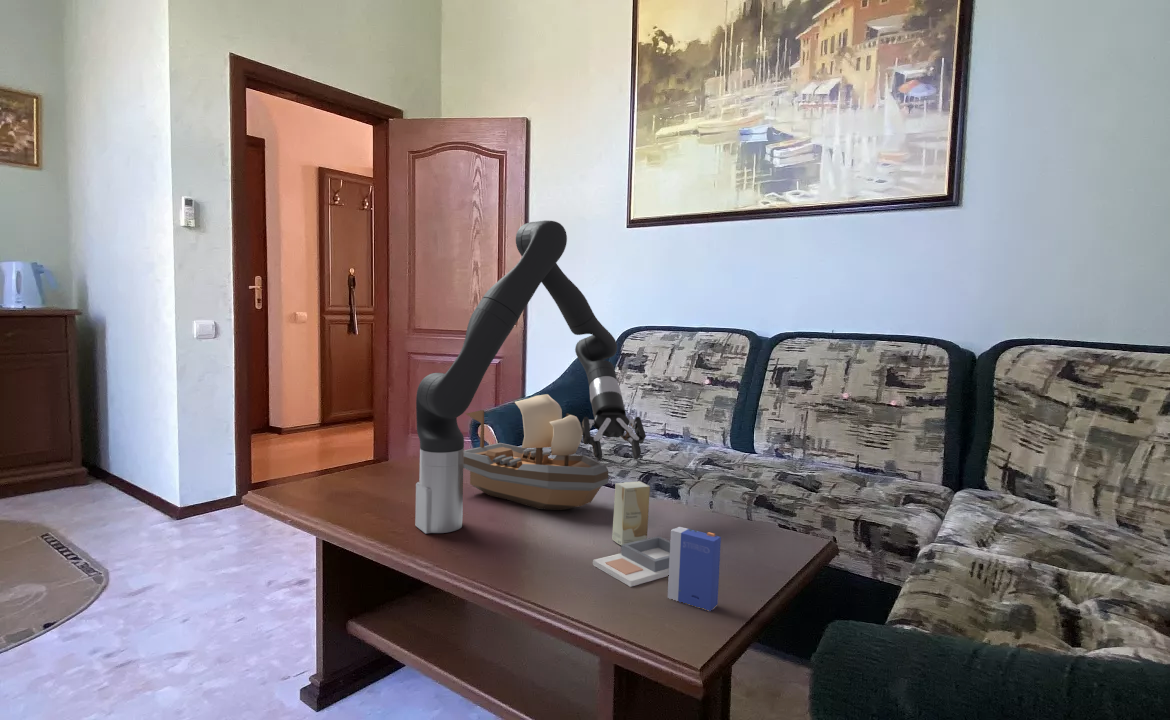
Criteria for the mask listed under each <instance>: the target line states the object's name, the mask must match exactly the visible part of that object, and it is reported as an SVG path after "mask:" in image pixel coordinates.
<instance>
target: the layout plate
mask: <svg viewBox="0 0 1170 720" xmlns="http://www.w3.org/2000/svg"><path fill="white" fill-rule="evenodd" d="M620 547H621V551H620V553H616V554H612V555H608V556H603V557H599V558H595V559H592V565H593V566H594V567H596V568H597V569H599V570H600V571H603V572H604V573H606V574H607V575H609V576H611V577H612V578H614V579H616V580H618V581H619V582H622V583H623V584H625V585H627V586H628V587H630V588H632V587H634V586H638V585H642V584H644V583H645V584H646V583H648V582H651V581H655V580H658V579H662V578H665V577H669V576H668V575H669V555H670V540H669V539H667V538H665V537H662V536H661V535H657V536H653V537H647V539H643V540H639V541H635V542H631V543H626V544H622V546H621V545H620Z"/></svg>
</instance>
